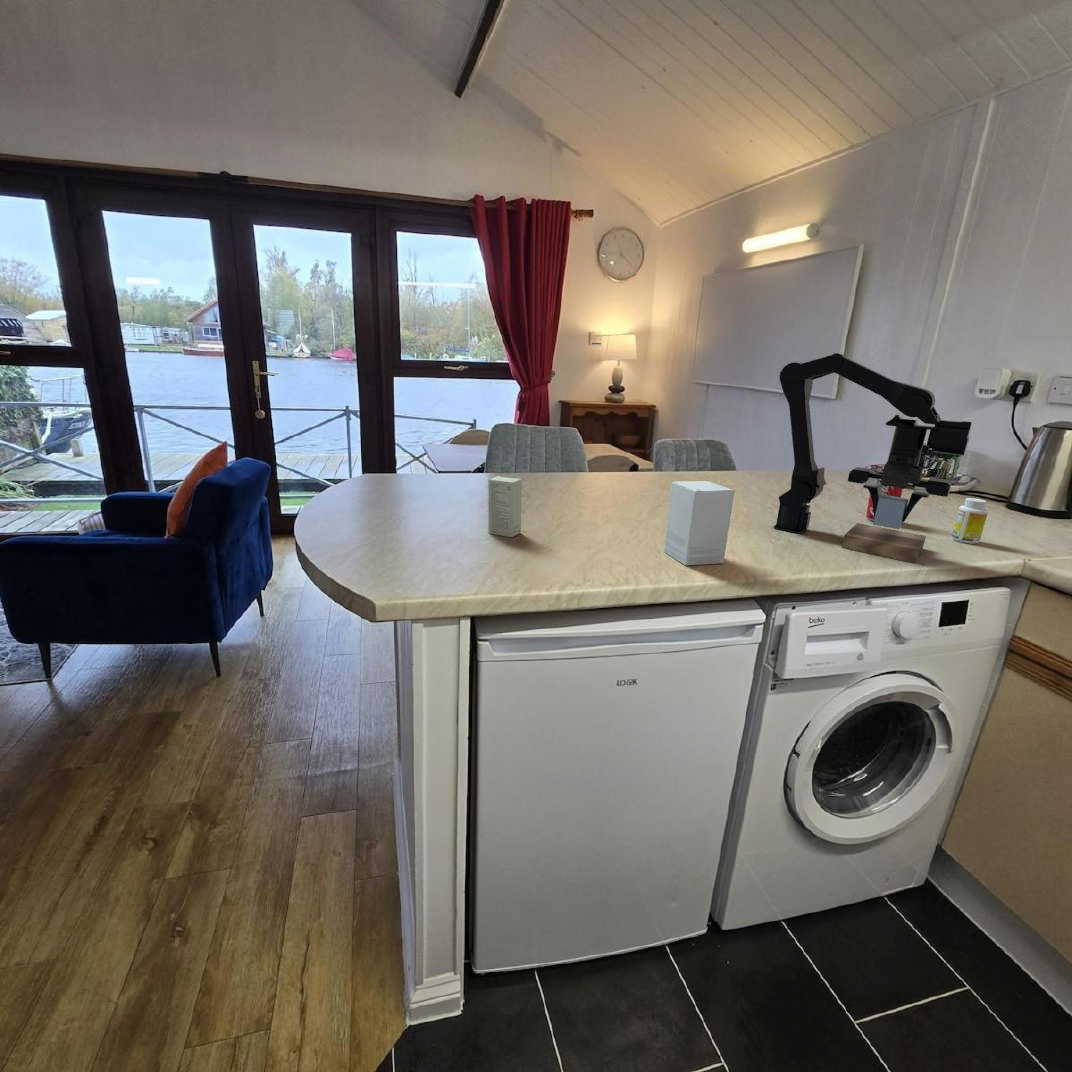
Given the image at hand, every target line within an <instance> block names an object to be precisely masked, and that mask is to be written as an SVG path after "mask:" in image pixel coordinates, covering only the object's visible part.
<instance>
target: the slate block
mask: <svg viewBox="0 0 1072 1072" xmlns="http://www.w3.org/2000/svg"><path fill="white" fill-rule="evenodd" d="M909 500H910V498H907V497H902V496H901V497H894V496H888V495H882V496H881V497H880V498H879V501H878V505H877V510H876V514H875V518H874V522H873V521H872V522H873V523H872V524H873V526H878V527H883V528H888V529H894V530H896V529H897V530H900V528H901V527H902V526H903V523H904V522H902V519H903V515H904V512H905V510H906V507H907V505H908V503H909Z"/></svg>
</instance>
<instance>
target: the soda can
mask: <svg viewBox="0 0 1072 1072" xmlns="http://www.w3.org/2000/svg"><path fill="white" fill-rule="evenodd" d="M880 484H881V483H880ZM902 494H903V489H900V488H897V487H892V486H882V489H881V496H882V495H888V496H894V497H901V498H902ZM865 517H866V519H868V520H869V521H870V520H871V521H870V522H874V518H875V517H874V512H873V505H872V499H871V495H870V494H869V498H868V502H867V507H866V510H865Z"/></svg>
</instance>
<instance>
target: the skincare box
mask: <svg viewBox="0 0 1072 1072" xmlns="http://www.w3.org/2000/svg"><path fill="white" fill-rule="evenodd" d="M487 482H488V487H487V489H488V492H487V493H488V494H487V495H488V499H487V501H488V504H487V506H488V507H487V508H488V511H487V513H488V515H487V516H488V518H487V519H488V528H487V530H488V534H492V535H497V536H503V537H508V538H509V537H510V538H514V537H515V536H517V535H519V534H520V533H521V532H522V493H523V492H522V491H523V489H522V486H523V485H522V483H523V479H522V478H519V477H509V476H502V475H501V476H499V475H496V476H493V477H490V478H488V481H487Z"/></svg>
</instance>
